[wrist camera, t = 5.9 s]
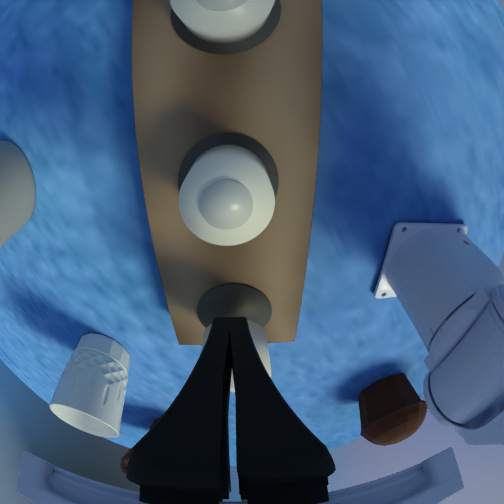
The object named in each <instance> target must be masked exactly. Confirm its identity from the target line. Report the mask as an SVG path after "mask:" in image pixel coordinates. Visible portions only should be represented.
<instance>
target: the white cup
mask: <svg viewBox="0 0 504 504" xmlns="http://www.w3.org/2000/svg"><path fill="white" fill-rule="evenodd" d="M129 366H130V355H129V354H128V352H127V351H126V349H125V348H124V347H123V346H122V345H120V344H119V343H118V342H116V341H115V340H113V339H111V338H109V337H106V336H104V335H101V334H94V333H89V334H85V335H83V336H82V337H81V339H80V341H79V343H78V345H77V347H76V349H75V351H74V353H73V354H72V355H71V357H70V359H69V361H68V363H67V365H66V367H65V370H64V371H63V373H62V375H61V378H60V380H59V383H58V385H57V387H56V390H55V392H54V395H53V397H52V400H51V402H50V405H49V407H50V409H51V411H52V412H53V413H54V414H55V415H57V416H58V417H59V418H61V419H62V420H63V421H65V422H66V423H68V424H70V425H72V426H74V427H76V428H78V429H80V430H82V431H85V432H88V433H90V434H93V435H97V436H101V437H106V438H116V437H118V436H119V433H120V425H121V418H122V412H123V406H124V399H125V392H126V386H127V376H128V371H129Z"/></svg>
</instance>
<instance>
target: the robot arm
mask: <svg viewBox="0 0 504 504" xmlns="http://www.w3.org/2000/svg"><path fill="white" fill-rule="evenodd" d="M404 227H405V228H404ZM403 228H404V229H403ZM402 229H403V230H402ZM467 230H468V227H467V226H466V225H465V224H444V223H410V222H398V223H396V224H395V225H394V227H393V230H392V234H391V238H390V242H389V245H388V249H387V252H386V256H385V259H384V263H383V266H382V269H381V272H380V276H379V279H378V282H377V285H376V288H375V291H374V297H375V298H377V299H379V298H388V297H396V296H397V298H398V299H399V301H400V303H401V304H402V306H403V308H404V309H405V311H406V313H407V314H408V316H409V318H410V319H411V321H412V323H413V325H414V326H415V328H416V330H417V332H418V334H419V335H420V337H421V339H422V341H423V343H424V345H425V346H426V348H427V350H428V352H429V354H428V356H427V358H426V359H425V360H424V362H425V364H426V366H427V368H428V370H429V372H428V373H427V374H426V376H425V379H424V384H423V392H424V397H425V401H426V404H427V406H428V409H429V410H430V412H431V414H432V415H433V416H434V418H435V419H436V420H437V421H438V422H440V423H441V424H442V425H444V426H445V427H447V428H450V429H452V430H454V431H455V432H457V433H458V434H459V435H460V436H461V437H462V438H463V439H464V440H465V442H466V443H467V444H469V445H494V444H501V445H504V278H503V276H502V273H501V271H500V270H499V268H498V267H497V266H496V265H495V264H494V263H493V262H492V261H491V260H490V259H489V258H488V257H487V256H486V255H485V254H484V253H483V252H482V251H481V250H480V249H479V248H478V247H477V246H476V245H475V244H474V243H473V242H472V241H471V240H470V239H469V238H467V237H466V233H467ZM382 293H383V294H382ZM232 371H233V379H234V388H235V396H236V453H237V473H238V478H239V493H240V495H241V501H242V502H223V499H229V493H230V492H231V481H230V460H229V432H228V410H229V398H230V386H231V374H232ZM335 470H336V469H335V464H334V461H333V459H332V457H331V455H330V453H329V451H328V449H327V447H326V446H325V445H324V444H323V443H322V442H321V441H320V440H319V439H318V438H317V437H316V436H315V435H314V434H313V433H312V432H311V431H310V430H309V429H308V428H307V427H306V426H305V425H304V424H303V422H302V421H301V420H300V419H299V418H298V417H297V415H296V414H295V413H294V412H293V410H292V409H291V408H290V407H289V405H288V404H287V403H286V401H285V400H284V398H283V397H282V395H281V394H280V392H279V391H278V389H277V388H276V386H275V385H274V383H273V381H272V380H271V378H270V376H269V374H268V373H267V371H266V369H265V367H264V365H263V363H262V361H261V359H260V357H259V354H258V352H257V350H256V347H255V345H254V342H253V339H252V337H251V334H250V330H249V326H248V321H247V318H246V317H215V318H214V319H213V322H212V326H211V329H210V332H209V335H208V338H207V341H206V343H205V345H204V348H203V350H202V352H201V355H200V357H199V359H198V361H197V363H196V365H195V367H194V369H193V371H192V373H191V374H190V376H189V378H188V380H187V381H186V383H185V385H184V386H183V388H182V390H181V391H180V393H179V394H178V396H177V397H176V398H175V400H174V401H173V403H172V404H171V406H170V407H169V408H168V410H167V411H166V412H165V413H164V415H163V416H162V417H161V418H160V419H159V420H158V422H157V423H156V424H155V425H154V426H153V427H152V429H151V430H150V431H149V432H148V433H147V434H146V435H145V436H144V437H143V438H142V439H141V440H140V441H139V442H138V443H137V444H136V445H135V446H134V447H133V449H132V451H131V454H130V457H129V460H128V465H127V475H126V478H127V479H128V480H129V481H131V482H134V483H136V484H138V485H140V492H135V491H130V490H126V489H121V488H118V487H114V486H110V485H107V484H103V483H100V482H97V481H93V480H90V479H87V478H84V477H81V476H78V475H76V474H73V473H70V472H68V471H65V470H63V469H60V468H58V467H56V466H53V465H52V464H51V463H49V462H47V461H45V460H43V459H41V458H39V457H37V456H35V455H33V454H31V453H29V452H26V451H24V453H23V458H22V462H21V466H20V471H19V477H18V482H17V489H16V491H17V493H19V494H20V495H22V496H24V497H25V498H27V499H29V500H30V501H32V502H33V503H35V504H439V503H441V502H443V501H444V500H446V499H447V498H449V497H451V496H453V495H454V494H456V493H457V492H459V491H461V490H462V489H463V488H464V485H463V481H462V478H461V474H460V471H459V468H458V464H457V461H456V459H455V455H454V452H453V449H452V448H451V447H450V448H448V449H446V450H444V451H442V452H440V453H438V454H436V455H434V456H432V457H430V458H428V459H426V460H424V461H423V462H422V463H420V464H417V465H415V466H413V467H410V468H408V469H405V470H403V471H400V472H397V473H395V474H392V475H389V476H386V477H383V478H380V479H377V480H374V481H370V482H367V483H364V484H360V485H356V486H353V487H349V488H345V489H340V490H336V491H332V492H328V489H327V485H328V476H329V475H331V474H332V473H334V471H335Z"/></svg>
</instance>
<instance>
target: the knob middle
mask: <svg viewBox="0 0 504 504" xmlns="http://www.w3.org/2000/svg"><path fill="white" fill-rule="evenodd" d="M178 203H179V211H180V214H181V217H182V219H183V221H184V223H185V224H186V226H187V227H188V228H189V230H190V231H191V232H192V233H193V234H195V235H196V236H197V237H199V238H200V239H202V240H204V241H206V242H209V243H212V244H215V245H222V246H231V245H238V244H242V243H245V242H247V241H250V240H252V239H253V238H255V237H256V236H258V235H259V234H260V233H261V232H262V231H263V230H264V229H265V228H266V227H267V225H268V224H269V222H270V220H271V218H272V215H273V212H274V207H275V196H274V191H273V188H272V185H271V182H270V180H269V177H268V174H267V171H266V169H265V166H264V164H263V163H262V161H261V160H260V159H259V158H258V156H257V155H255V154H254V153H253V152H252V151H250V150H248V149H246V148H244V147H241V146H238V145H230V144H226V145H219V146H215V147H213V148H210V149H208V150H207V151H205V152H204V153H202V154H201V155H200V156H199V157H198V158H197V159H196V161H195V162H194V164H193V165H192V167H191V169H190V171H189V173H188V174H187V176H186V178H185V180H184V182H183V183H182V186H181V188H180V192H179V199H178Z"/></svg>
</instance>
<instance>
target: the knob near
mask: <svg viewBox="0 0 504 504" xmlns="http://www.w3.org/2000/svg"><path fill="white" fill-rule="evenodd" d="M274 2H275V0H170V4H171V6H172V9H173V10H174V12H175V13H176V15H177V16H178V17H179V18H180V20H181V21H182V22H183V23H184V24H185V26H186V27H187V28H188V29H189V30H190V32H192V33H193V34H194V35H195V36H197V37H198V38H201V39H203V40H205V41H208V42H213V43H233V42H238V41H241V40H244V39H246V38H248V37H250V36H252V35H254V34H255V33H256V32H257V31H259V30H260V29H261V28H262V26H263V25H264V24H265V22H266V20H267V18H268V16H269V13H270V11H271V9H272V7H273V5H274Z"/></svg>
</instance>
